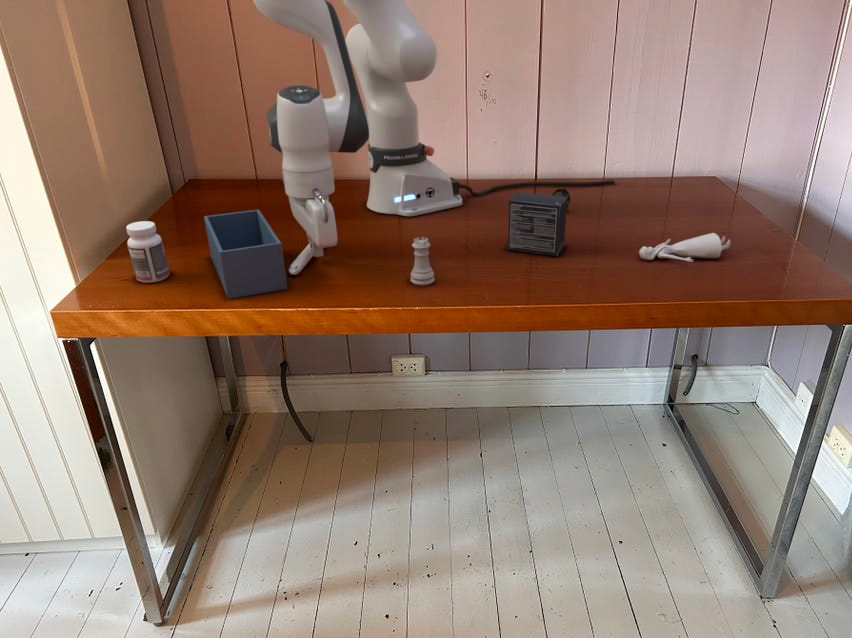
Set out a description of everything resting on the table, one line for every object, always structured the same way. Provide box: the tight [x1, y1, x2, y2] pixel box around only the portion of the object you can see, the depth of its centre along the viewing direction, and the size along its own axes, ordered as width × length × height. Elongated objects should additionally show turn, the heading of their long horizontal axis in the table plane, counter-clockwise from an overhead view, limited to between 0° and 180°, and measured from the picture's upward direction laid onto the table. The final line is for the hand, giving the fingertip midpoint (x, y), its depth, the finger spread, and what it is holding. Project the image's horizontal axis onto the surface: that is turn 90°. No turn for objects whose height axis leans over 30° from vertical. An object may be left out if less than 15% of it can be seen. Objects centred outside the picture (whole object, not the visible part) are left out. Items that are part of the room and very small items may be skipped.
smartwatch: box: [551, 187, 571, 208], centre depth 166 cm, size 4×5×5 cm
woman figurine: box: [638, 232, 731, 263], centre depth 141 cm, size 12×4×18 cm
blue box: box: [203, 209, 288, 299], centre depth 132 cm, size 10×20×8 cm, turn 25°
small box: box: [506, 191, 568, 257], centre depth 143 cm, size 11×6×10 cm, turn 71°
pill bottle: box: [126, 220, 170, 284], centre depth 129 cm, size 6×6×10 cm
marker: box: [288, 243, 314, 276], centre depth 139 cm, size 18×2×2 cm, turn 174°
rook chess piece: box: [409, 236, 435, 287], centre depth 129 cm, size 4×4×8 cm
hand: (317, 254), depth 138 cm, fingers closed
